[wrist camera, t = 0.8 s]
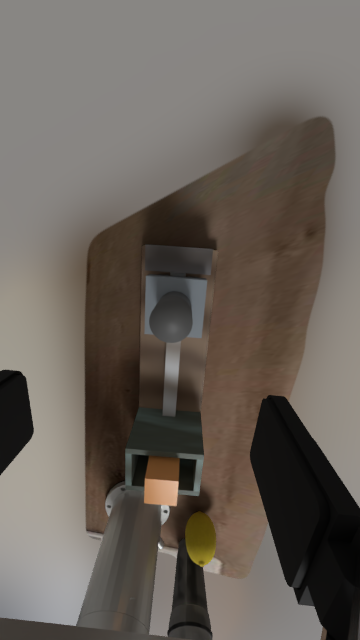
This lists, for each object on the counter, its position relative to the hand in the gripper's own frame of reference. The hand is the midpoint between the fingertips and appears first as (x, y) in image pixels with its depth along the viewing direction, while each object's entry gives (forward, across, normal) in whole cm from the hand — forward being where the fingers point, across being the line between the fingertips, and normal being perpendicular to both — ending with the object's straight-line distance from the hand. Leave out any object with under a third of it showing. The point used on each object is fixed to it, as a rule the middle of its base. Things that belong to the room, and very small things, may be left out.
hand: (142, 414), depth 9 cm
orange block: (+16, -1, +22) cm, 27 cm away
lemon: (+23, -8, +43) cm, 49 cm away
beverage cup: (+23, -7, +53) cm, 58 cm away
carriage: (+22, 0, 0) cm, 22 cm away
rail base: (+24, 0, +9) cm, 26 cm away
